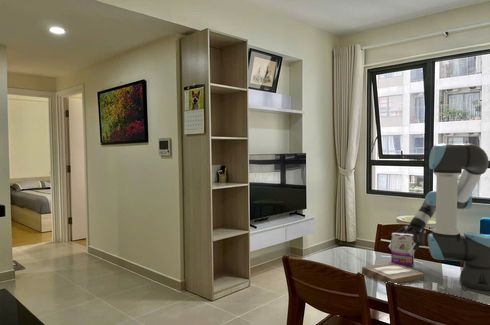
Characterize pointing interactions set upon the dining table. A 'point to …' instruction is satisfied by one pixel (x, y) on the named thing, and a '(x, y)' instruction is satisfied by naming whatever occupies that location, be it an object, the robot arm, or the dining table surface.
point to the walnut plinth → (393, 273)
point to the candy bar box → (402, 248)
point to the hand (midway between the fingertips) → (399, 251)
